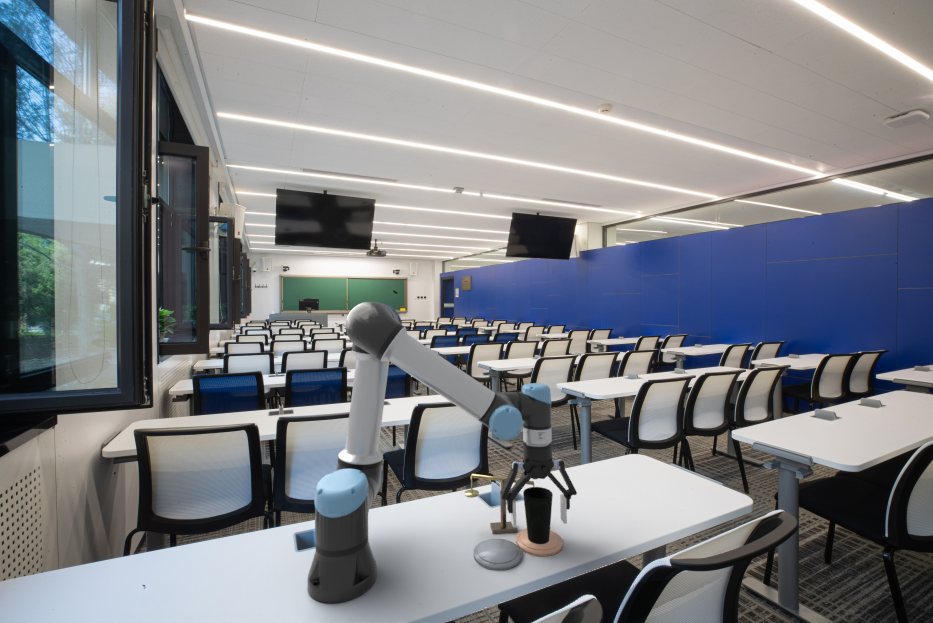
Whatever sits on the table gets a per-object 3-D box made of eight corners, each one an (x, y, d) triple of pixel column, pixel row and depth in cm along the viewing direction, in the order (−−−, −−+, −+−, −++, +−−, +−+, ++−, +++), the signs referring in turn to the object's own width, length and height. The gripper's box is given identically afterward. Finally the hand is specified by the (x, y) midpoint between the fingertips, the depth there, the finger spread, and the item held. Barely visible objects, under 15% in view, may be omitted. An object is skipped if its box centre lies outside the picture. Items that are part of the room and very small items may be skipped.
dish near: (476, 572, 95) (476, 566, 95) (471, 543, 107) (470, 539, 107) (526, 567, 96) (526, 562, 96) (515, 540, 108) (515, 535, 108)
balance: (466, 535, 110) (465, 477, 111) (464, 528, 114) (463, 471, 115) (543, 530, 113) (542, 472, 113) (539, 522, 117) (538, 467, 117)
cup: (553, 547, 102) (552, 500, 102) (523, 545, 103) (522, 498, 104) (552, 532, 109) (552, 487, 110) (524, 529, 111) (523, 485, 111)
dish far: (522, 558, 100) (522, 553, 100) (512, 532, 112) (512, 528, 112) (569, 554, 101) (569, 549, 101) (553, 529, 113) (553, 525, 113)
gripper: (493, 449, 102) (495, 533, 101) (588, 444, 104) (589, 526, 104) (488, 440, 109) (490, 519, 109) (577, 436, 112) (578, 512, 112)
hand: (538, 523), depth 107 cm, fingers open, 13 cm apart
